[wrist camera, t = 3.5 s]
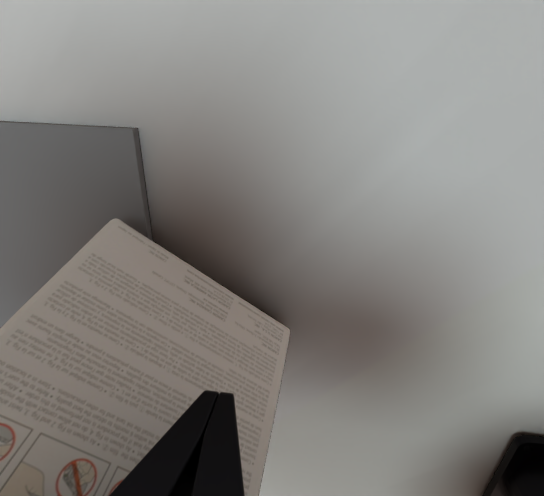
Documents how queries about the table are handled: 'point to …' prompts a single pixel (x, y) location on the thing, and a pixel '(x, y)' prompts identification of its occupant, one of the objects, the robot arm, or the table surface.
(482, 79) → the table surface
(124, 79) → the table surface
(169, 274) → the ink box
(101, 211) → the slate mat
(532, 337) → the table surface
